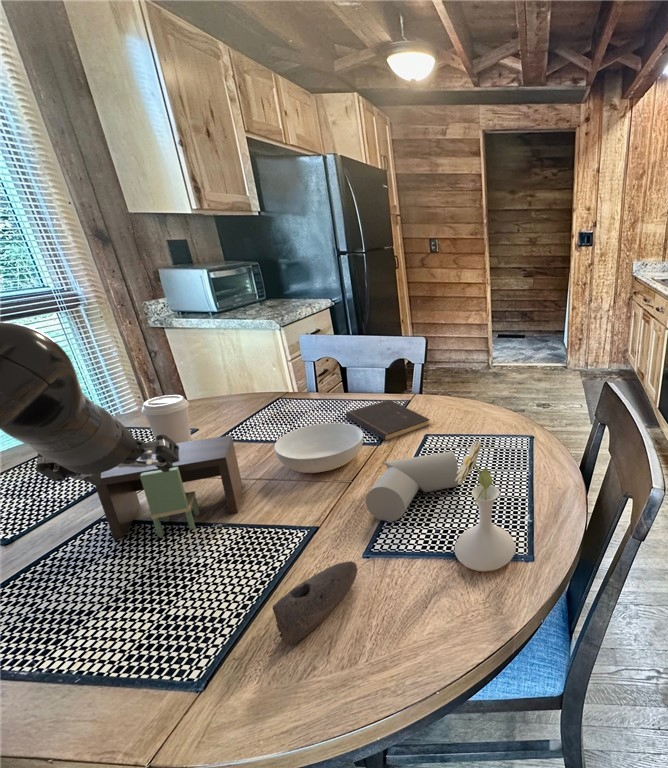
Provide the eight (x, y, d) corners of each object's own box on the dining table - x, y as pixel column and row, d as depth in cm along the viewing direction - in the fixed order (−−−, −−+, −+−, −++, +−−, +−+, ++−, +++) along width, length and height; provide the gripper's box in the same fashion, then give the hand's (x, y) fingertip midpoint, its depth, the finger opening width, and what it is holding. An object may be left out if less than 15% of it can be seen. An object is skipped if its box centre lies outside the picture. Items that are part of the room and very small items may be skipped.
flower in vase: (471, 528, 85) (471, 417, 77) (523, 543, 82) (529, 428, 73) (438, 572, 74) (434, 447, 66) (497, 592, 70) (500, 462, 62)
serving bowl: (382, 453, 114) (380, 431, 111) (319, 493, 95) (315, 467, 93) (326, 437, 122) (323, 416, 119) (259, 471, 104) (254, 446, 101)
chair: (195, 531, 82) (178, 469, 78) (157, 539, 80) (137, 476, 75) (200, 513, 87) (185, 454, 83) (165, 520, 85) (147, 460, 80)
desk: (238, 513, 88) (225, 457, 83) (114, 541, 79) (92, 479, 74) (242, 487, 97) (231, 434, 92) (132, 509, 88) (114, 452, 84)
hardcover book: (390, 405, 146) (389, 399, 145) (430, 425, 131) (429, 419, 131) (346, 418, 135) (345, 412, 134) (385, 442, 120) (384, 434, 119)
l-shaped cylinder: (395, 465, 106) (357, 513, 87) (401, 429, 102) (363, 471, 83) (461, 485, 105) (437, 538, 86) (470, 449, 101) (447, 496, 83)
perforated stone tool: (347, 575, 73) (343, 542, 70) (369, 587, 70) (366, 554, 68) (265, 644, 60) (257, 607, 58) (288, 661, 58) (281, 623, 56)
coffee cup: (145, 457, 108) (129, 404, 103) (182, 441, 116) (169, 391, 112) (172, 464, 105) (157, 409, 100) (208, 447, 114) (196, 396, 109)
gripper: (-3, 477, 48) (71, 506, 62) (152, 453, 55) (189, 484, 68) (6, 418, 51) (75, 458, 64) (153, 402, 57) (188, 441, 71)
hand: (133, 471), depth 66 cm, fingers open, 8 cm apart
